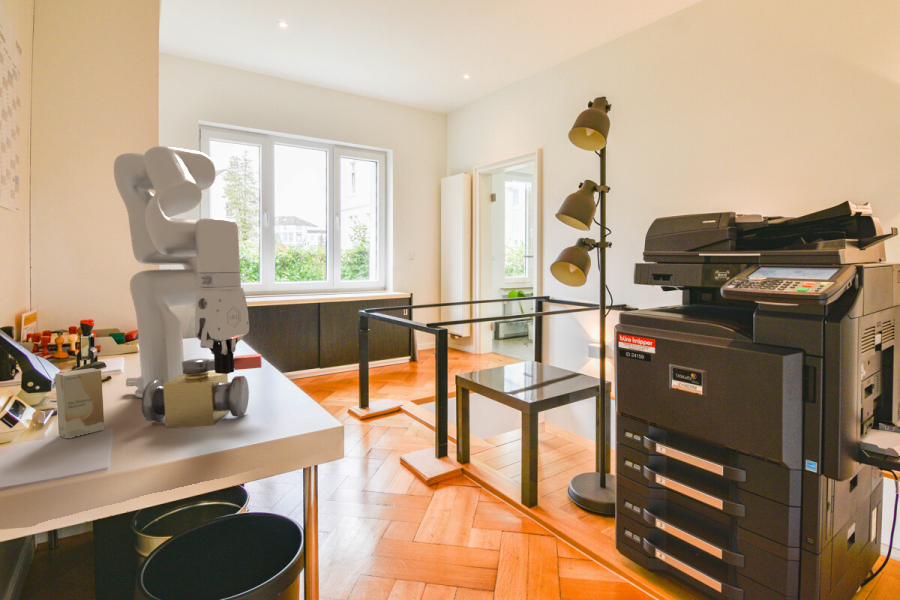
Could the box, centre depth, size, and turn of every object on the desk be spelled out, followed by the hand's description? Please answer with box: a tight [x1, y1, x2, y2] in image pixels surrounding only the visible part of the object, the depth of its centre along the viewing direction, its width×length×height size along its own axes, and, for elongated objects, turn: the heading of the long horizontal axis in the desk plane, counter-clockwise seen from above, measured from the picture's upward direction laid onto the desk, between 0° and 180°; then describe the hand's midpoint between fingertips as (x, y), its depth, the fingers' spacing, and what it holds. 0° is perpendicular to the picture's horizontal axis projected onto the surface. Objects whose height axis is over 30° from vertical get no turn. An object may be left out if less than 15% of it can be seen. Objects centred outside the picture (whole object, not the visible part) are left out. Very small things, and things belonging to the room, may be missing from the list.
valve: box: [141, 371, 250, 429], centre depth 94 cm, size 18×9×10 cm, turn 98°
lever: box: [182, 353, 263, 374], centre depth 95 cm, size 15×5×2 cm, turn 110°
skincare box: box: [54, 367, 105, 439], centre depth 87 cm, size 6×4×12 cm
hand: (224, 372), depth 90 cm, fingers closed
